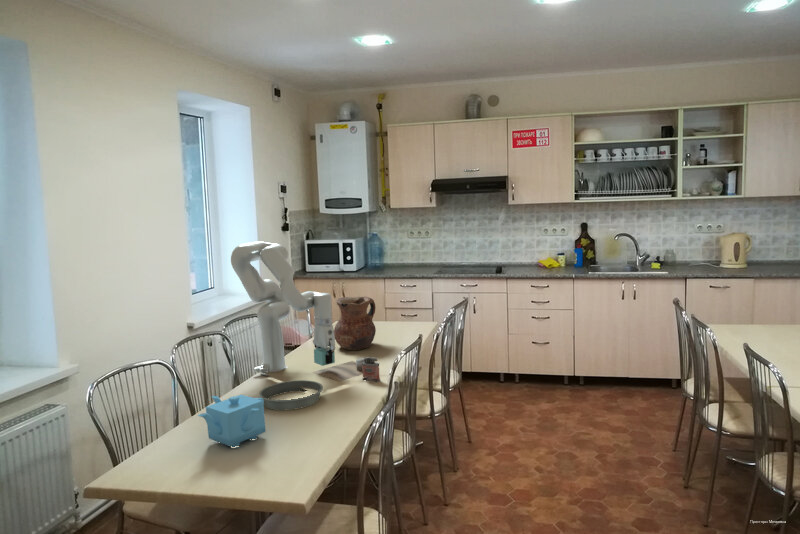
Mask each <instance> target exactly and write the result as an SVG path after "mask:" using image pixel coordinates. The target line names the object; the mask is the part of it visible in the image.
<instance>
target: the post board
mask: <svg viewBox="0 0 800 534" xmlns="http://www.w3.org/2000/svg"><path fill="white" fill-rule="evenodd" d="M362 362H365V361H364V358H357V359H355V361H354V360H351V361H347V362H343V363H340V364H336V365H333V366H329V367H326V368H322V369H319V370H314V371H312V373H313V374H316V375H319V376H322V377H325V378H328V379H330V380H334V381H337V382H341V381H345V380H348V379H351V378H354V377H359V376H361V375H362V376H363V370H362Z"/></svg>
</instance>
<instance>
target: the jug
mask: <svg viewBox="0 0 800 534" xmlns="http://www.w3.org/2000/svg"><path fill="white" fill-rule="evenodd" d="M335 303H336V304H337V305H338V308H339V310H340V319H338V321H337V323H336V324H335V325H334V327H333V329H334V336H335V343H337V345H339V347H340V348H342V349H344V350H347V351H358V350H359V351H360V350H364V349H367V348H369V347H371V344H372V343H373V342H374V340H375V337H376V331H377V330H376V329H377V328H376V325H375V323H374V321H373V318H374V315H375V313H376V303H375V300H374V299H373V298H371V297H369V296H355V297H352V296H344V297H343V296H342V297H339V298H338V299H337V300H336V302H335ZM369 305H370V307H369ZM368 307H369V310H368Z"/></svg>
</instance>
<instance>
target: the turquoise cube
mask: <svg viewBox="0 0 800 534" xmlns="http://www.w3.org/2000/svg"><path fill="white" fill-rule="evenodd" d="M329 350H330V349H328V351H329ZM335 354H336V353H335V351H334V352H333V354H332V361H333V362H332V363H329V364H326V355H327V354H326V351H325V348H318V349H316V348H314V349H313V362H314V364H316V365H320V366H322V367H324V366H328V365H330V364H331V365H333V364H335V362H336V359H335V356H336V355H335Z"/></svg>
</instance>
